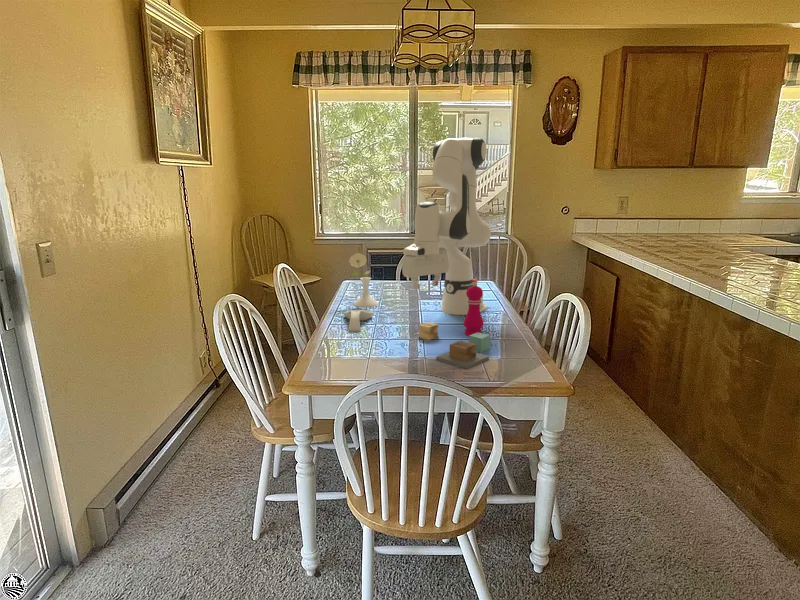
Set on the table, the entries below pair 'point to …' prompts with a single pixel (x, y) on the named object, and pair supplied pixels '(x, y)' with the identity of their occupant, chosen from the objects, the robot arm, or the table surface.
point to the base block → (462, 350)
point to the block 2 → (480, 341)
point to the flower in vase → (365, 299)
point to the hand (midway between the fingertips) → (426, 287)
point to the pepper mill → (473, 310)
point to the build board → (461, 363)
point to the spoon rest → (357, 318)
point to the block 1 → (428, 330)
